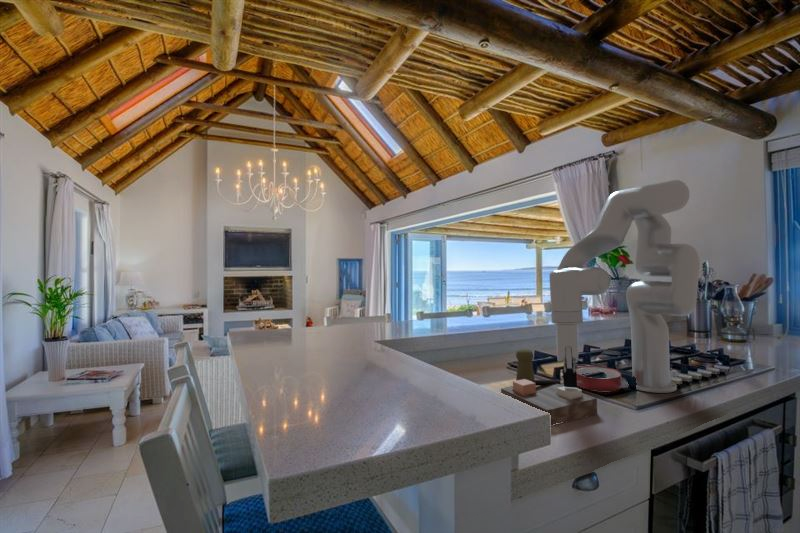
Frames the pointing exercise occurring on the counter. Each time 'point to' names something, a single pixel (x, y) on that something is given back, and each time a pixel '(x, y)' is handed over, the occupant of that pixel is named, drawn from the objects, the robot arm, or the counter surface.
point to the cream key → (569, 392)
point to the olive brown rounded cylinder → (524, 365)
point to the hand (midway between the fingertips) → (570, 386)
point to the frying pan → (592, 379)
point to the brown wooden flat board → (556, 403)
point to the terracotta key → (524, 387)
